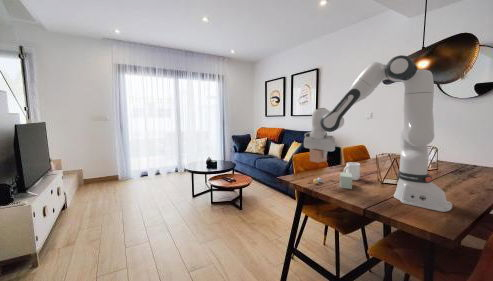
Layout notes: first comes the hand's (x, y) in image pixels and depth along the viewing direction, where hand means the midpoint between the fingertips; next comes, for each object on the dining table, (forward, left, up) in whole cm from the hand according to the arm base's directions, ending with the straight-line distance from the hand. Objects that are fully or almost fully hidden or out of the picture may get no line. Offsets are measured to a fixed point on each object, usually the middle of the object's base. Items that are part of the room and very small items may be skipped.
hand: (318, 156), depth 134 cm
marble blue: (0, -2, -17) cm, 17 cm away
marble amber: (0, +2, -17) cm, 17 cm away
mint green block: (-14, -8, -17) cm, 23 cm away
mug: (-9, -24, -17) cm, 31 cm away
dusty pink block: (0, 0, -3) cm, 3 cm away
